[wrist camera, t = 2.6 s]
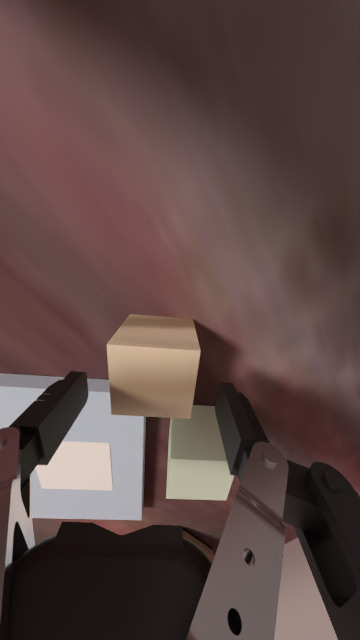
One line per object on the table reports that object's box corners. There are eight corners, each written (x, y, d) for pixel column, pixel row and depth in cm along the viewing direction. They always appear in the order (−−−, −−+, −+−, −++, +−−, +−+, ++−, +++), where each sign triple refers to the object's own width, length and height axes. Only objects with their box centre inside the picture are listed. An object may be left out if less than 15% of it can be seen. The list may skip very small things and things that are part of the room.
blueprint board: (-13, 372, 15) (-33, 384, 14) (147, 382, 16) (144, 394, 15) (33, 501, 22) (23, 518, 21) (143, 504, 23) (141, 520, 22)
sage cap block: (172, 403, 17) (170, 458, 13) (222, 406, 17) (238, 461, 13) (168, 438, 19) (166, 498, 14) (214, 440, 19) (226, 500, 15)
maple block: (130, 313, 14) (106, 344, 9) (192, 318, 14) (200, 350, 9) (130, 366, 16) (111, 414, 11) (186, 370, 16) (190, 418, 11)
